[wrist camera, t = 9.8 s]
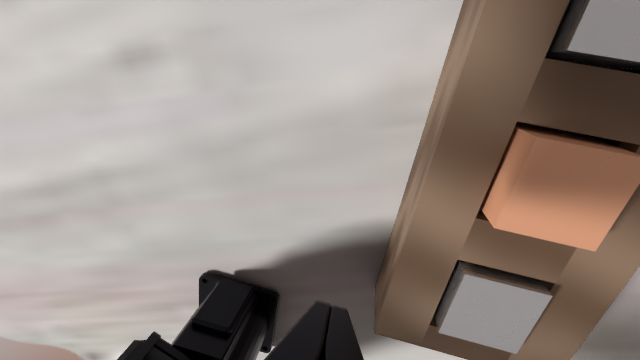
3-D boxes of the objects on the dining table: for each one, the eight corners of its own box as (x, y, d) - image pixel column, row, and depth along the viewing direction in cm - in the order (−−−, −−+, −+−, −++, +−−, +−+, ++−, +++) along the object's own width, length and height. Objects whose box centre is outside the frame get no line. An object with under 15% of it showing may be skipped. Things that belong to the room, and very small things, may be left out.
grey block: (612, 68, 13) (694, 70, 10) (520, 53, 14) (566, 50, 10) (667, -37, 12) (788, -79, 8) (561, -51, 12) (633, -96, 9)
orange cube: (547, 209, 16) (595, 251, 12) (469, 192, 16) (493, 228, 13) (586, 136, 14) (654, 160, 11) (498, 118, 14) (536, 136, 11)
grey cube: (491, 300, 19) (516, 354, 15) (427, 284, 19) (438, 332, 16) (518, 249, 17) (552, 296, 14) (448, 232, 18) (465, 274, 14)
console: (521, 324, 20) (552, 383, 16) (375, 286, 21) (374, 333, 18) (765, -81, 11) (945, -148, 8) (498, -111, 13) (546, -182, 9)
